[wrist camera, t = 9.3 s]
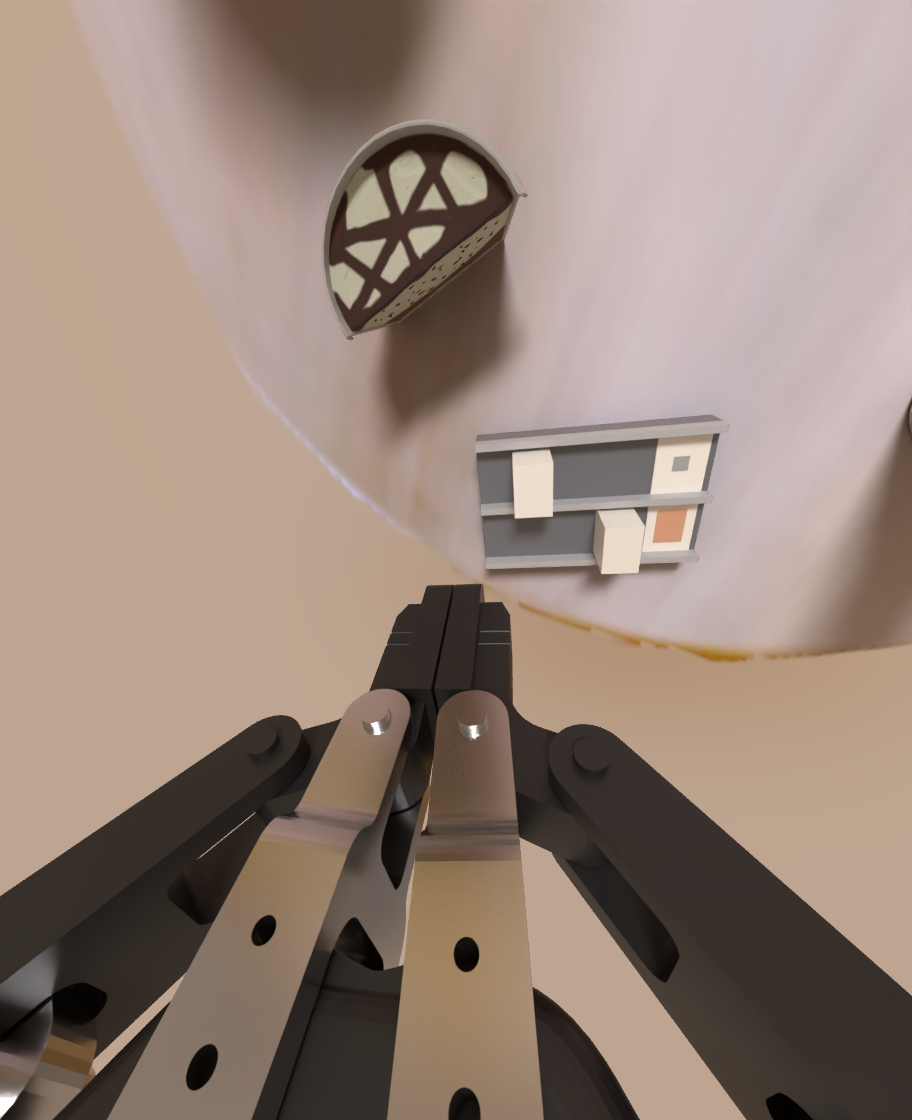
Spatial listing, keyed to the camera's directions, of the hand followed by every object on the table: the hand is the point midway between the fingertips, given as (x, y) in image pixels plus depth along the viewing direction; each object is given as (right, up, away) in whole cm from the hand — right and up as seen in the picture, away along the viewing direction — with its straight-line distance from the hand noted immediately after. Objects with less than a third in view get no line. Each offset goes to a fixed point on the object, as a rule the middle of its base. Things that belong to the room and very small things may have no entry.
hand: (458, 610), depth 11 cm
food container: (-2, +24, +17) cm, 30 cm away
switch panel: (+12, +8, +26) cm, 29 cm away
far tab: (+14, +4, +25) cm, 29 cm away
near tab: (+6, +9, +23) cm, 26 cm away
